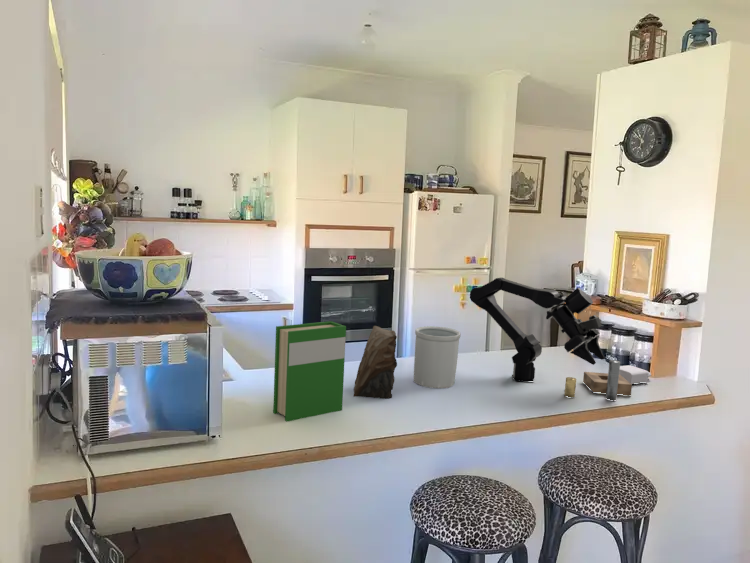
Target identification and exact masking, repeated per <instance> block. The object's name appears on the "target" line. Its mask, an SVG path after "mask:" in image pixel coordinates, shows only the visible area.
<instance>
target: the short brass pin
mask: <svg viewBox="0 0 750 563" xmlns="http://www.w3.org/2000/svg"><path fill="white" fill-rule="evenodd" d="M564 383H565V385H564V394H563V396H564V395H565V396H568V397H576V396H575V395H576V387H577V378H575V377H573V376H572V377H571V376H566V377H565V382H564ZM565 396H564V397H565Z"/></svg>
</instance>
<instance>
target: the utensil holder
mask: <svg viewBox="0 0 750 563" xmlns="http://www.w3.org/2000/svg"><path fill="white" fill-rule="evenodd" d="M414 333H415V345H414V347H415V348H414V362H413V382H414V383H415V384H417V385H419V386H421V387H425V388H430V389H449V388H451V387H453V386H455V382H456V375H457V374H456V373H457V366H458V358H459V357H458V356H459V355H458V354H459V345H460V339H461V332H460V331H459V330H456V329H453V328H450V327H443V326H435V325H433V326H430V325H429V326H428V325H427V326H420V327H416V328H415V332H414Z"/></svg>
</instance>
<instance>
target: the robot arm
mask: <svg viewBox="0 0 750 563" xmlns="http://www.w3.org/2000/svg"><path fill="white" fill-rule="evenodd" d="M500 291H503V292H506V293H509V294H512V295H515V296H518V297H521V298H525V299H528V300H530V301H531V302H533V303H534V304H536V305H538V306H540V307H542V308H543V309H551V308H553V309H552V310H546V317H545V319H546V320H549V319H552V318H553V319H554V320H555V322H556V323H557V324H558V325H559V327H560V328H561V330H560V331H561V333H562V334H565V335H566V336H567V337H568V339H569V340H567V342H565V343H564V347H563V348H564V349H565V351H566V352H567V353H569V354H572V355H575V356H576V357H578V358H580V359H582V360H583V361H585V362H587V363H589V364H591V365H593V366H594V365H595V364H596V360H595V358H594V356H596V357H597V358H598V359H600V360H604V359H605V356H604V353H603V350H602V349H601V346H600V344H599V339H600V332H599V331H598V329H600V328H601V327H602V326H603V325H602V319H601V318H600V317H598V316H597V315H595V314H593V315H590V316H589V317H588V320H585V321H583V320H582V319H581V318H577V317H576V316H575V315H574V314H578V315H579V314H581V313H582V312H584V311H585V310H586V309H587V308H589V307H591V305H593V303H594V301H593V299H592V297H591V296H590V295H589V294H587V293H586V292H585V291H584V290H582V289H581V288H580V287H577V288H575V289H574V290H573V292H571V293H570V294H569V295H567V296H566V295H562V294H560V293H559V292H558V291H557V290H555V289H549V288H548V289H547V288H537V287H532V286H529V285H525V284H523V283H518V282H515V281H512V280H509V279H506V278H505V277H497V278H494V279H493V280H491V281H489V282H488V283H485V284H484V285H482V286H478V287H474V288H472V289H471V291H470V293H469V299H470V301H471V302H472V303H473V304H474V305H476V306H477V307H478V308H480V309H482V310H484V311H486V312H487V313H488V314H489V316H490V317H491V318H492V319H493V320H494V322H496V324H497V325H498V326H499V327H500V328H501V329H502V330H503V332H504V333H505V334H506V335H507V336H508V337H509V338H510V340H512V342H513V344H514V347H515V350H516V351H517V353H516V354H514V355H513V356H512V357H511V360H512V364H513V371H512V374H511V377H512V376H513V377H512V379H513V378H514V379H513V381H514V380H520V381H519V382H523V381H534V380H535V374H536V368H535V365H534V362H535V361H536V360H537V358H539V357H540V356H541V355H542V352H543V351H542V350H543V348H542V345H541V344H540V343H541V341H539V340H538V339H537V338H536V336H535V335H534V334H533V333H531V334H529V335H528V334H526V333H524V332H523V331H522V329H521V328H519V326H518V325H517V324H516V323H515V322H514V321H513V319H512V318H511V317H510V316H509V315H508V314H507V313H506V312H505V311H504V309H502V307H501V306H500V305H499V304H498V302H497V300H496V296H495V294H497V293H499V292H500ZM562 304H563V305H562ZM559 305H562V306H559ZM554 307H555V308H554ZM593 355H594V356H593Z"/></svg>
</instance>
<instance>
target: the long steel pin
mask: <svg viewBox="0 0 750 563" xmlns="http://www.w3.org/2000/svg"><path fill="white" fill-rule="evenodd" d="M620 366H621V361H619V360H615V359H614V360H613V359H610V360H609V362H608V371H607V373H608V380H607V389H606V395H605V398H607V399H610V400H616V401H617V396H618V395H617V388H618V379H619V370H620Z"/></svg>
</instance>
